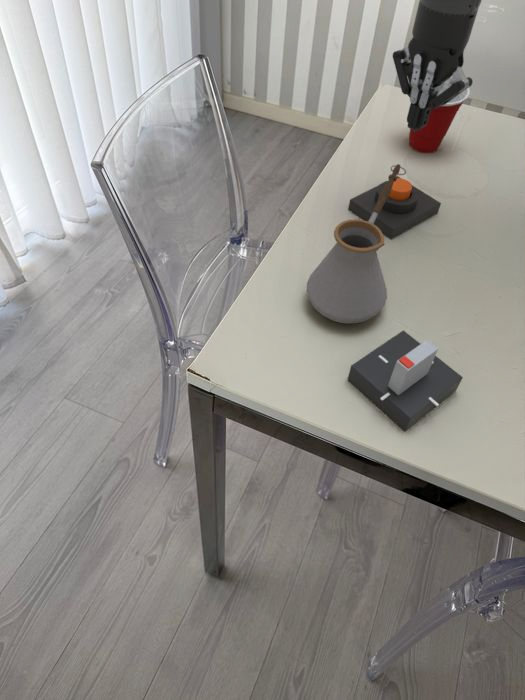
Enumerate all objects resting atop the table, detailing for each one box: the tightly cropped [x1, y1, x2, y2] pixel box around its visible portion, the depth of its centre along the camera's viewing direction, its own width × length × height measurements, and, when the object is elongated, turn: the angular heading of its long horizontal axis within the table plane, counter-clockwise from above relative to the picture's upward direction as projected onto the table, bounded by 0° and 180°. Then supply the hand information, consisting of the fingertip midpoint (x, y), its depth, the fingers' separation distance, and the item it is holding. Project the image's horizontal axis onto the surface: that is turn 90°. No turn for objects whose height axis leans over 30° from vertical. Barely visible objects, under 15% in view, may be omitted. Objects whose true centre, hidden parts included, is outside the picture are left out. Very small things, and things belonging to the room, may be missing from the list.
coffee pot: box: [306, 163, 407, 324], centre depth 80 cm, size 21×12×15 cm, turn 153°
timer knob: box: [388, 339, 439, 395], centre depth 69 cm, size 6×2×5 cm, turn 129°
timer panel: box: [347, 329, 463, 432], centre depth 72 cm, size 11×11×3 cm
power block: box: [347, 175, 442, 240], centre depth 96 cm, size 12×10×4 cm
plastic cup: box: [408, 75, 471, 154], centre depth 107 cm, size 11×11×12 cm
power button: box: [388, 177, 413, 201], centre depth 94 cm, size 4×4×2 cm
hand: (415, 127), depth 86 cm, fingers closed
